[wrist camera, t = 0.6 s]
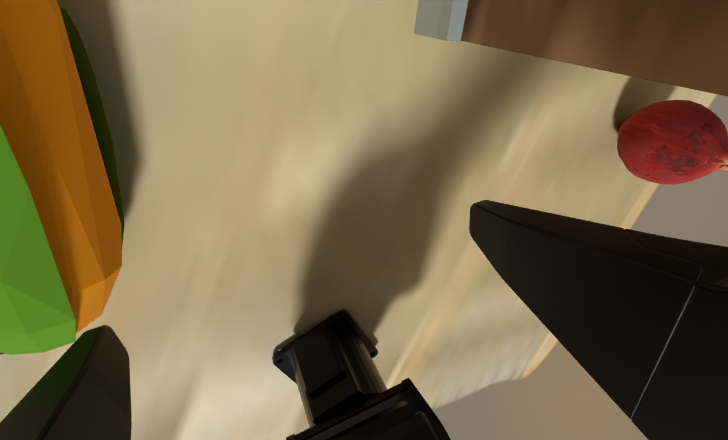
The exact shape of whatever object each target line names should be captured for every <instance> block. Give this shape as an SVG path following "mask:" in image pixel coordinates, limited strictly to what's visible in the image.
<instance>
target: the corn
mask: <svg viewBox="0 0 728 440" xmlns="http://www.w3.org/2000/svg"><path fill="white" fill-rule="evenodd" d="M123 233H124V219H123V212H122V205H121V198H120V191H119V184H118V177H117V170H116V163H115V156H114V149H113V143H112V139H111V136H110V132H109V128H108V125H107V121H106V117H105V114H104V110H103V106H102V103H101V99H100V95H99V92H98V88H97V84H96V81H95V77H94V73H93V71H92V68H91V65H90V63H89V60H88V57H87V55H86V52H85V49H84V47H83V44H82V41H81V38H80V36H79V33H78V31H77V29H76V27H75V26H74V24H73V22H72V20H71V19H70V17H69V15H68V13H67V12H66V10H64V9H62V8H60V7H59V4H58V2H57V0H0V354H10V355H11V354H26V353H40V352H46V351H49V350H52V349H55V348H58V347H61V346H64V345H67V344H70V343H73V342H76V333H78V332H79V331H80V330H82V329H83V328H84V327H86V326H87V325H88V324H90V323H91V322H92V321H94V320H95V319H96V318H98V317H99V316H100V315H102V313H103V310H104V308H105V305H106V303H107V300H108V298H109V296H110V293H111V291H112V288H113V286H114V283H115V281H116V278H117V276H118V273H119V271H120V268H121V266H122V243H123Z"/></svg>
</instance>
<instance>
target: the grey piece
mask: <svg viewBox="0 0 728 440" xmlns="http://www.w3.org/2000/svg"><path fill="white" fill-rule="evenodd" d="M467 5H468V0H419V1H418V8H417V15H416V23H415V30H414V34H418V35H423V36H427V37H432V38H436V39H441V40H446V41H460V42H461V36H462V31H463V26H464V21H465V16H466V10H467Z"/></svg>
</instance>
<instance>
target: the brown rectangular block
mask: <svg viewBox="0 0 728 440" xmlns="http://www.w3.org/2000/svg"><path fill="white" fill-rule="evenodd" d="M461 41H466V42H470V43H475V44H480V45H485V46H489V47H494V48H499V49H504V50H509V51H513V52H518V53H523V54H528V55H532V56H537V57H542V58H547V59H552V60H556V61H561V62H566V63H571V64H575V65H580V66H585V67H590V68H595V69H599V70H604V71H609V72H614V73H618V74H623V75H628V76H633V77H638V78H642V79H647V80H652V81H657V82H661V83H666V84H671V85H676V86H681V87H685V88H690V89H695V90H700V91H704V92H709V93H714V94H719V95H724V96H728V0H468V5H467V10H466V16H465V21H464V26H463V31H462V36H461Z"/></svg>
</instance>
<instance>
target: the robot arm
mask: <svg viewBox="0 0 728 440" xmlns="http://www.w3.org/2000/svg"><path fill="white" fill-rule="evenodd" d="M469 230H470V234H471V237H472V238H473V240H474V241H475V242H476V244H477V245H478V247H479V248H480V249H481V251H482V252H483V253H484V255H485V256H486V257H487V259H488V260H489V262H490V263H491V264H492V266H493V267H494V268H495V270H496V271H497V272H498V274H499V275H500V276H501V277H502V279H503V280H504V281H505V282H506V283H507V284H508V286H509V287H510V288H511V289H512V290H513V291H514V292H515V293H516V294H517V295H518V297H519V298H520V299H521V300H522V301H523V302H524V303H525V304H526V305H527V306H528V308H529V309H530V310H531V311H532V312H533V313H534V314H535V315H536V316H537V317H538V319H539V320H540V321H541V322H542V323H543V324H544V325H545V326H546V327H547V328H548V330H549V331H550V332H551V333H552V334H553V335H554V336H555V337H556V338H557V339H558V341H559V342H560V343H561V344H562V345H563V346H564V347H565V348H566V349H567V350H568V351H569V352H570V354H571V355H572V356H573V357H574V358H575V359H576V360H577V361H578V362H579V364H580V365H581V366H582V367H583V368H584V369H585V370H586V371H587V372H588V373H589V375H590V376H591V377H592V378H593V379H594V380H595V381H596V382H597V383H598V384H599V386H600V387H601V388H602V389H603V390H604V391H605V392H606V393H607V394H608V395H609V397H610V398H611V399H612V400H613V401H614V402H615V403H616V404H617V405H618V406H619V407H620V409H621V410H622V411H623V412H624V413H625V414H626V415H627V416H628V417H629V418H630V419H632V422H633V423H634V424H635V425H636V426H637V427H638V429H639V430H640V431H641V432H642V433H643V434H644V435H645V436H646V437H647V439H648V440H728V247H725V246H719V245H713V244H707V243H700V242H693V241H688V240H682V239H676V238H670V237H665V236H660V235H655V234H649V233H644V232H639V231H635V230H630V229H625V230H624V229H623V228H620V227H615V226H610V225H605V224H600V223H596V222H591V221H586V220H581V219H576V218H571V217H567V216H562V215H557V214H552V213H547V212H542V211H538V210H533V209H528V208H523V207H518V206H513V205H509V204H504V203H499V202H494V201H489V200H483V201H480V202H477V203H474V204H473V205H472V206H471V208H470V225H469ZM344 316H345V317H344ZM342 317H343V318H342ZM377 354H378V351H377V349H376V347H375V346H374V344H373V343H372V342H371V340H370V339H369V338H368V336H367V335H366V334H365V333H364V331H363V330H362V329H361V327H360V326H359V325H358V323H357V322H356V321H355V320H354V318H353V317H352V316H351V314H350V313H349V312H348V311H347V310H342V311H340V312H338V313H337V314H335V315H334V316H332V317H331V318H329V319H328V320H326V321H324V322H323V323H321V324H320V325H318V326H317V327H315V328H314V329H312V330H311V331H309V332H308V333H306V334H305V335H303V336H302V337H300V338H299V339H297V340H295V341H294V342H292V343H291V344H289V345H288V346H286V347H285V348H283V349H282V350H280V351H279V352H277V353H276V354H275V355H273V357H272V360H273V364H274V365H275V366H276V367H277V368H279V369H280V370H281V371H282V372H283V373H284V374H286V375H287V376H288V377H289V378H290V379H292V380H293V381H294V382H295V383H296V384H297V385H298V389H299V392H300V396H301V399H302V402H303V406H304V409H305V413H306V416H307V420H308V423H309V427H310V428H308V429H306V430H304V431H302V432H300V433H298V434H296V435H295V434H293V435H290V436H288V437H286V440H450V438H449V436H448V434H447V432H446V430H445V429H444V427H443V425H442V423H441V422H440V420H439V419H438V418H437V416H436V415H435V413H434V412H433V411H432V409H431V408H430V406H429V405H428V404H427V402H426V401H425V399H424V398H423V397H422V395H421V394H420V393H419V391H418V390H417V388H416V387H415V386H414V384H413V383H412V381H411V380H410V379H409V378H407V379H405V380H403V381H402V383H400V384H398V385H396V386H394V387H392V388H390V389H388V390H387V388H386V386H385V384H384V382H383V380H382V378H381V376H380V374H379V372H378V370H377V368H376V366H375V364H374V362H373V360H372V358H374V357H375V356H376V355H377ZM0 440H131V393H130V368H129V356H128V353H127V350H126V348H125V347H124V346H123V344H122V343H121V341H120V340H119V338H118V337H117V335H116V334H115V332H114V331H113V329H112V328H111V327H109V326H107V325H103V326H100V327H97V328H94V329H91V330H88V331H86V332H84V333H83V334H82V335H81V336H80V337H79V338H78V339H77V340H76V342H75V343H74V344H73V345H72V346H71V347H70V348H69V349H68V350H67V351H66V352H65V353H64V354H63V356H62V357H61V358H60V359H59V360H58V361H57V362H56V363H55V364H54V365H53V366H52V367H51V368H50V370H49V371H48V372H47V373H46V374H45V375H44V376H43V377H42V378H41V379H40V380H39V381H38V382H37V384H36V385H35V386H34V387H33V388H32V389H31V390H30V391H29V392H28V393H27V394H26V395H25V397H24V398H23V399H22V400H21V401H20V402H19V403H18V404H17V405H16V406H15V407H14V408H13V409H12V411H11V412H10V413H9V414H8V415H7V416H6V417H5V418H4V419H3V420H2V421H1V422H0Z"/></svg>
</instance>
